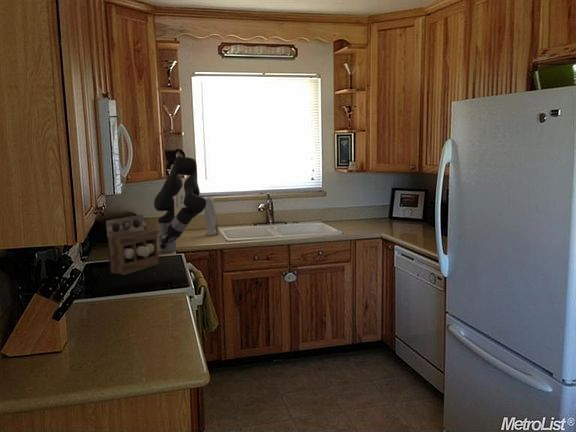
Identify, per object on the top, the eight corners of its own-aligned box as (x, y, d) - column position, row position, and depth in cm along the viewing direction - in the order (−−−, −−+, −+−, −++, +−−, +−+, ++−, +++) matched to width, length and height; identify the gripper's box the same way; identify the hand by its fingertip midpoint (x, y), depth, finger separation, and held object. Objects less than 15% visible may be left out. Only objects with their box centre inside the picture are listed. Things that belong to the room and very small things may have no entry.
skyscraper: (208, 236, 339) (205, 195, 335) (203, 235, 346) (201, 194, 342) (219, 235, 344) (217, 194, 340) (214, 233, 350) (212, 194, 346)
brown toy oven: (110, 272, 247) (105, 220, 243) (145, 262, 266) (141, 214, 262) (123, 274, 241) (119, 221, 238) (158, 264, 261) (155, 215, 257)
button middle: (132, 256, 249) (132, 246, 249) (140, 254, 254) (139, 244, 253) (142, 257, 246) (142, 247, 245) (150, 255, 250) (149, 245, 249)
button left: (116, 258, 246) (116, 248, 245) (124, 256, 250) (124, 246, 249) (126, 259, 242) (125, 249, 242) (134, 257, 246) (133, 247, 246)
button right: (137, 253, 257) (136, 243, 256) (145, 251, 261) (144, 241, 261) (147, 254, 253) (146, 244, 253) (154, 252, 258) (153, 242, 257)
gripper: (183, 217, 250) (167, 239, 258) (164, 221, 238) (147, 244, 247) (192, 228, 248) (175, 250, 256) (173, 233, 236) (156, 256, 245)
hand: (162, 247), depth 251 cm, fingers closed
